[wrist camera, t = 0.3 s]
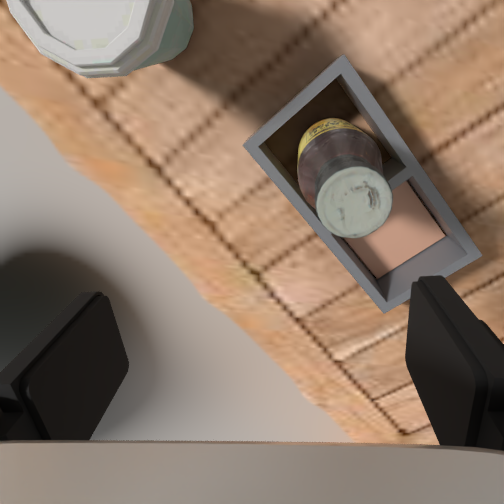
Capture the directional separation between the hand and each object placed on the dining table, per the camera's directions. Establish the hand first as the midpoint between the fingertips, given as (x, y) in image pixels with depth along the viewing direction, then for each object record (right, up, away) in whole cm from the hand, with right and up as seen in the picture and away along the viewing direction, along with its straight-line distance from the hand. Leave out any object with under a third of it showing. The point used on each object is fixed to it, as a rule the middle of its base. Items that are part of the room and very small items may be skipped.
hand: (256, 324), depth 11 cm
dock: (+11, +9, +27) cm, 31 cm away
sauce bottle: (+8, +13, +26) cm, 30 cm away
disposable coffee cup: (-9, +24, +23) cm, 34 cm away
